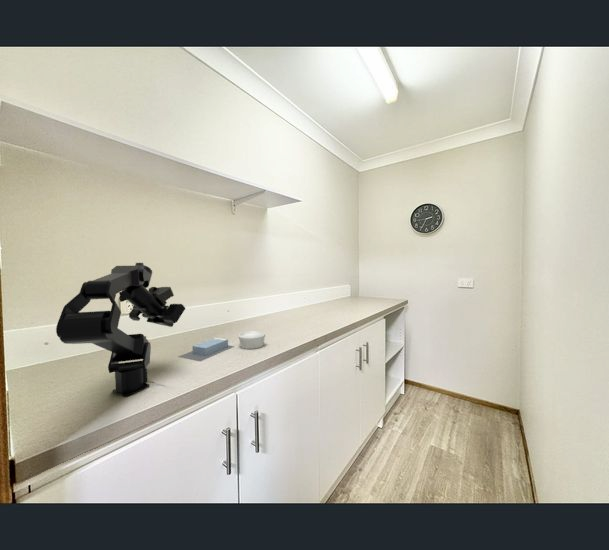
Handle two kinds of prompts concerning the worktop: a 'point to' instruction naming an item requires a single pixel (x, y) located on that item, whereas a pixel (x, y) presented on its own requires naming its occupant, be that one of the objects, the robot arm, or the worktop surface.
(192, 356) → the mat
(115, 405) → the worktop surface
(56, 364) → the worktop surface
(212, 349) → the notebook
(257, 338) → the ramekin
